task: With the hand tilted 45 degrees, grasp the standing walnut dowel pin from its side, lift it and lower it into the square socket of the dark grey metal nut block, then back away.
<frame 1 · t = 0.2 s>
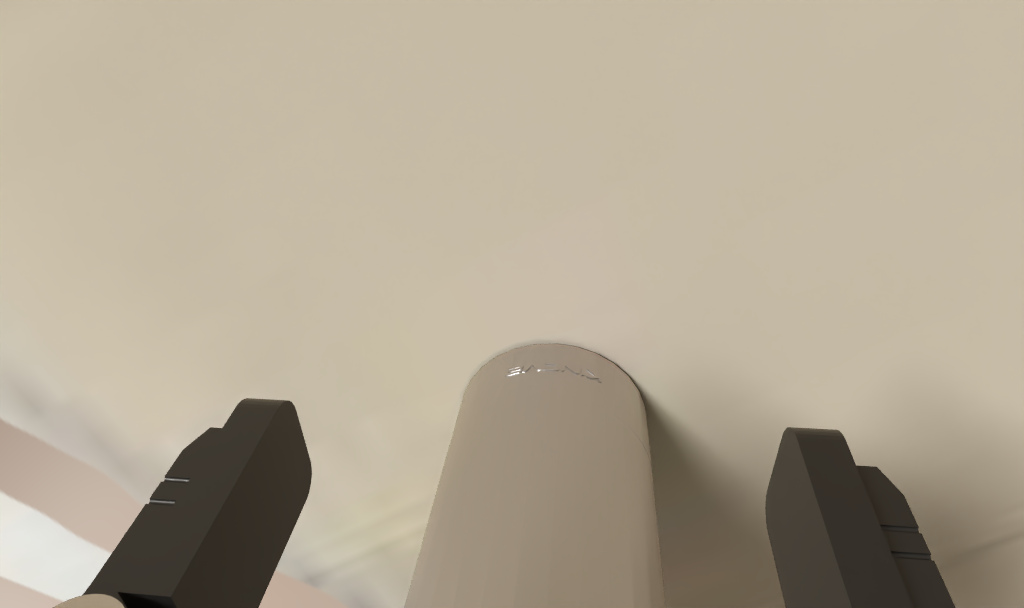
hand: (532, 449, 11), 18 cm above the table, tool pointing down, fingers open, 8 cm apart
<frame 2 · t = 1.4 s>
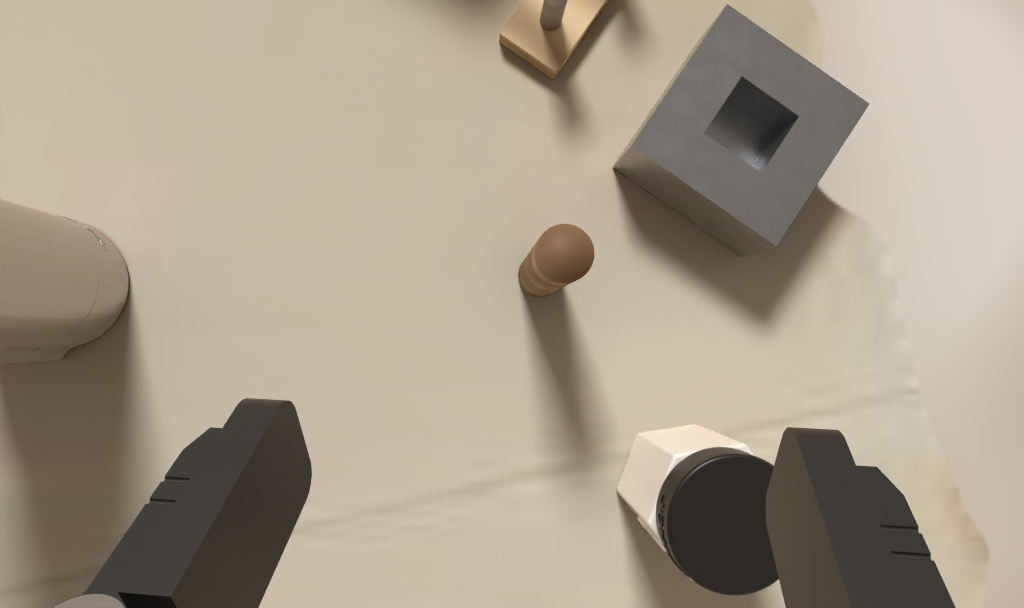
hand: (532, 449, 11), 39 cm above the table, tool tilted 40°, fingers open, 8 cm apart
nut block: (719, 148, 52), on the table
walnut pin: (539, 275, 51), on the table
jar: (673, 479, 51), on the table
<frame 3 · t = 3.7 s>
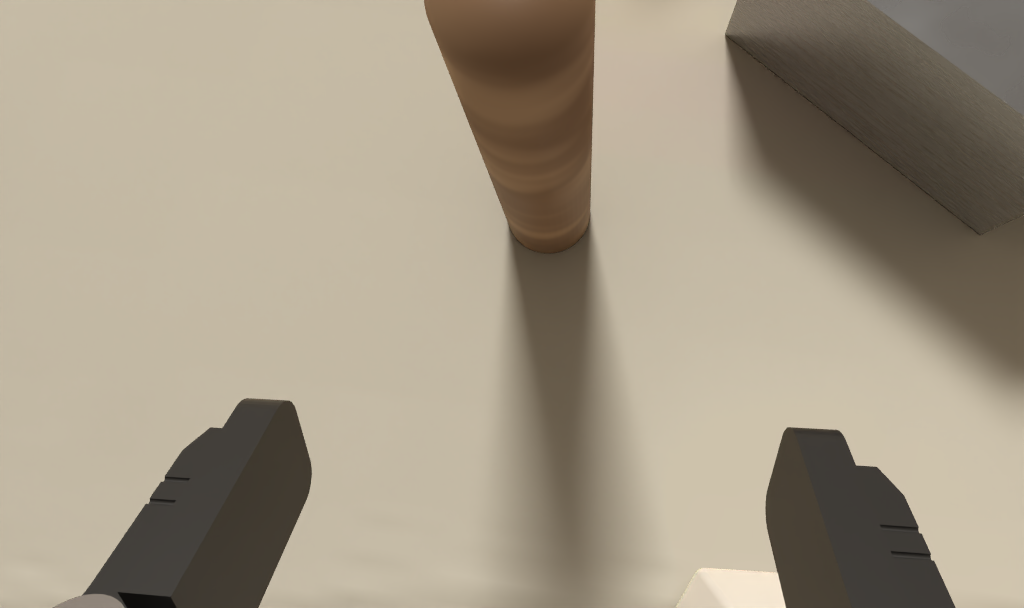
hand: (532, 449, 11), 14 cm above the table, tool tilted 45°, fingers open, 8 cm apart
nut block: (952, 19, 26), on the table
walnut pin: (548, 213, 26), on the table
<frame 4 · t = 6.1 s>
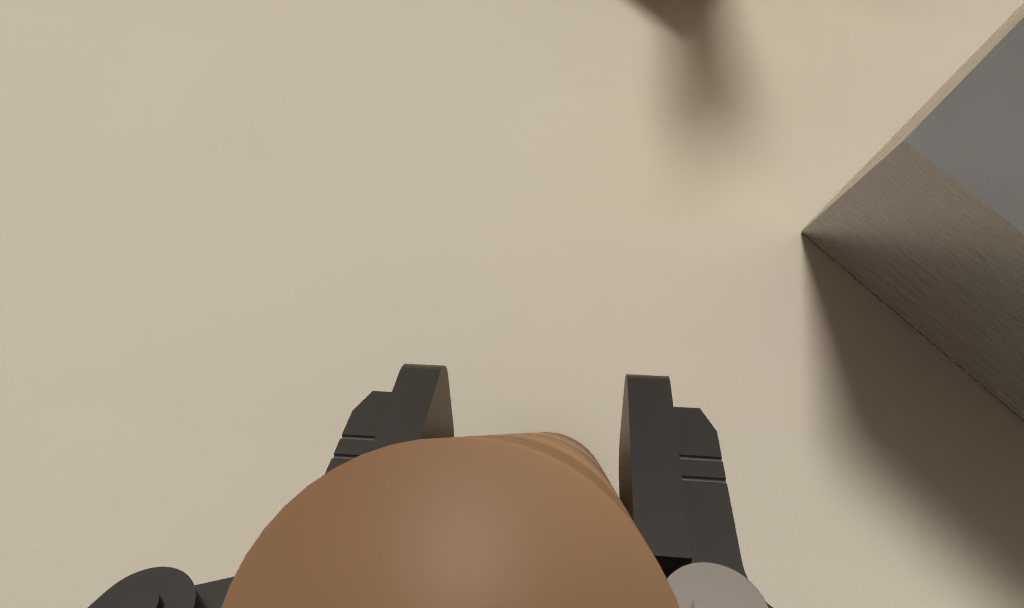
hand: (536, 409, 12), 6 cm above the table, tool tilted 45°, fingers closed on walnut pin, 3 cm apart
walnut pin: (546, 493, 18), on the table, touching gripper
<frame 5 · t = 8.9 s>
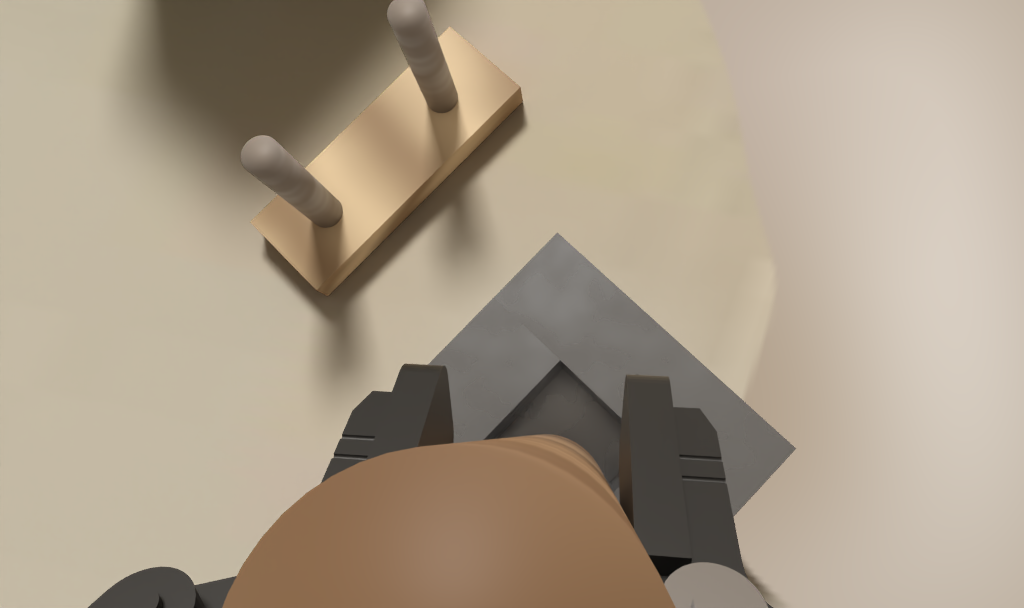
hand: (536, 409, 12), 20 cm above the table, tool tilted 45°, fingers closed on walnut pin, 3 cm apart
peg rack: (393, 166, 35), on the table
nut block: (565, 446, 31), on the table
walnut pin: (546, 495, 18), point 13 cm above the table, touching gripper
when the fingers open (10 cm above the table, at t = 11.7 s): walnut pin drops 1 cm, resting on nut block.
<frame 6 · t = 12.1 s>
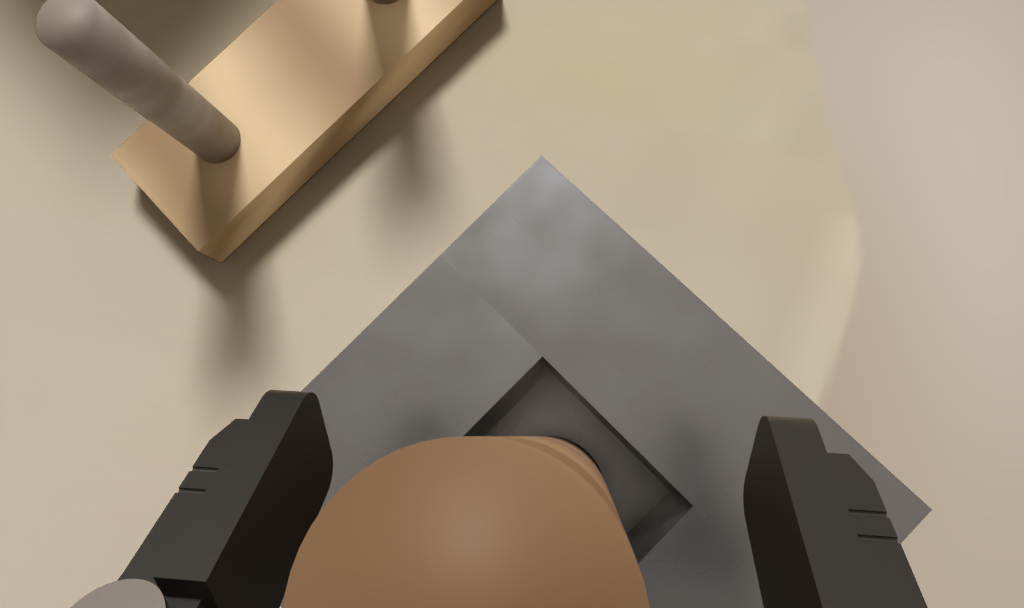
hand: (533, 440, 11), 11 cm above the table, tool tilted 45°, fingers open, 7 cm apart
peg rack: (319, 83, 25), on the table
nut block: (552, 483, 21), on the table
walnut pin: (549, 492, 19), point 2 cm above the table, touching nut block
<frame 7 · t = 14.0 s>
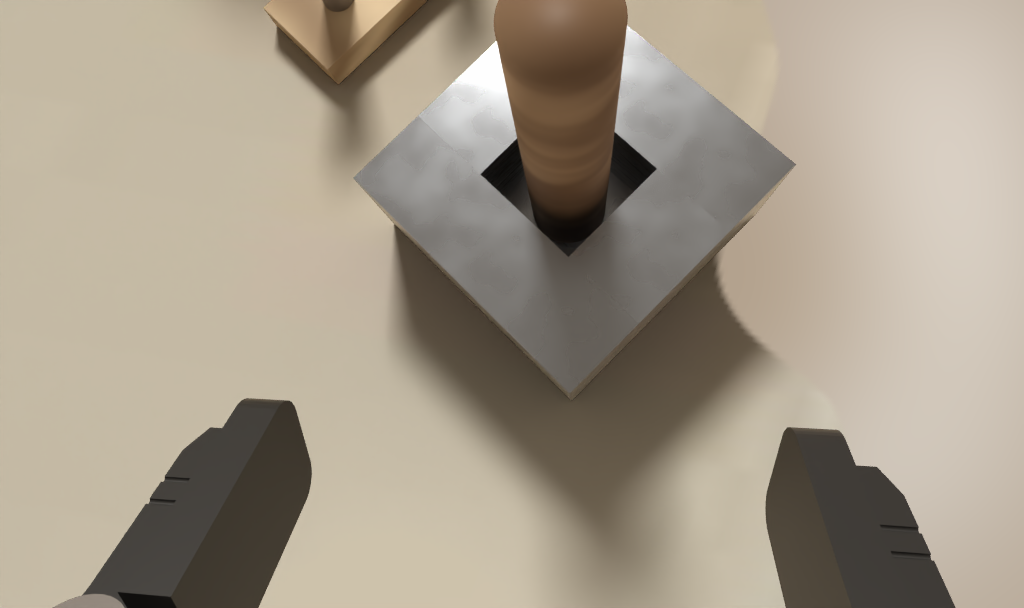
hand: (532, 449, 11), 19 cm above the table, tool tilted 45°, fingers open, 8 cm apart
nut block: (569, 219, 32), on the table
walnut pin: (568, 207, 30), point 2 cm above the table, touching nut block
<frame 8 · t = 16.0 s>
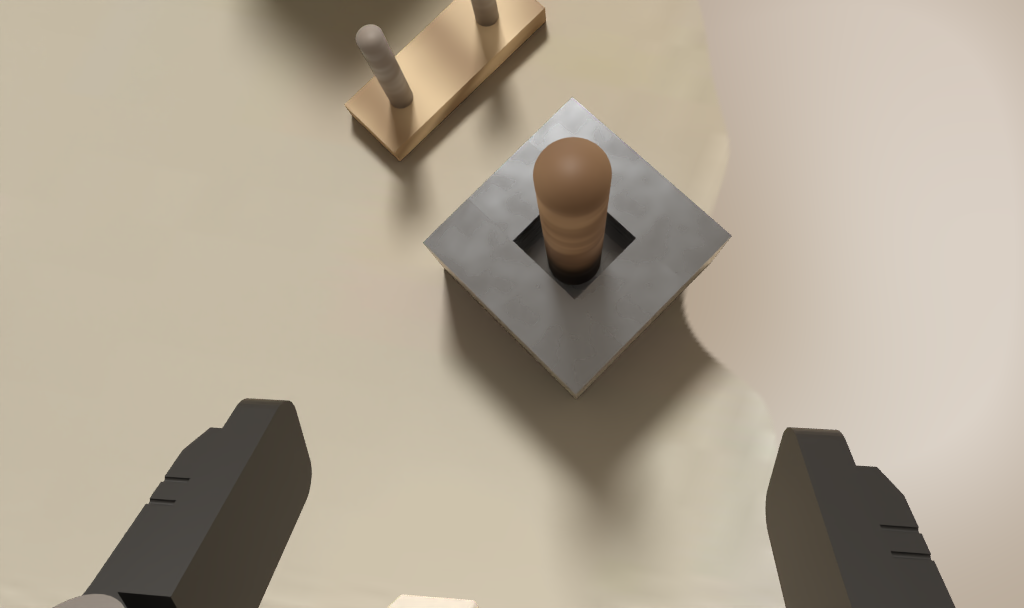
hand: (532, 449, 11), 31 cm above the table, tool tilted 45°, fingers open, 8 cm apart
peg rack: (448, 68, 47), on the table
nut block: (574, 265, 43), on the table
walnut pin: (574, 259, 41), point 2 cm above the table, touching nut block
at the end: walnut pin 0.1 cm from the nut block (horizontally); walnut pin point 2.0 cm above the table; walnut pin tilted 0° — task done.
